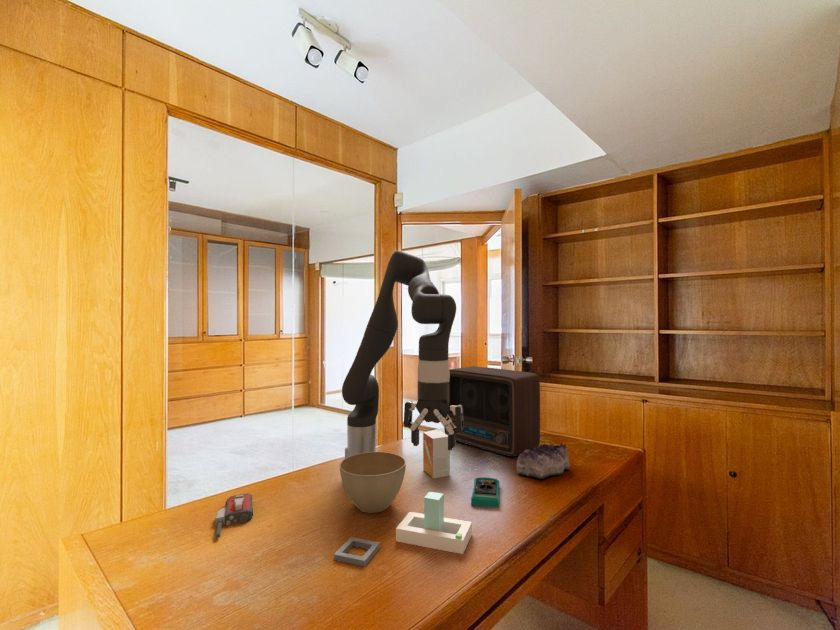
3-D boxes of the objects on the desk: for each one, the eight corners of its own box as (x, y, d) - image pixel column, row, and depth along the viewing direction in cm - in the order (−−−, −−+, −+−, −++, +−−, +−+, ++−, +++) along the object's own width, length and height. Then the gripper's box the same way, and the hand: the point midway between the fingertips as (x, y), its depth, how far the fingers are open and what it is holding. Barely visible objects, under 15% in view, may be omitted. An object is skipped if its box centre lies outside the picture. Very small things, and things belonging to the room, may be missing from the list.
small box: (422, 470, 143) (422, 431, 143) (439, 467, 145) (439, 429, 145) (432, 478, 135) (432, 438, 135) (450, 475, 138) (450, 436, 138)
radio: (441, 440, 177) (440, 368, 177) (468, 432, 189) (468, 365, 189) (513, 462, 150) (513, 378, 150) (540, 451, 162) (540, 373, 162)
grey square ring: (334, 559, 91) (334, 554, 91) (351, 542, 98) (351, 537, 98) (364, 566, 88) (364, 560, 88) (379, 548, 95) (379, 542, 95)
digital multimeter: (499, 487, 130) (499, 477, 130) (499, 509, 115) (498, 498, 115) (474, 485, 131) (474, 475, 131) (470, 507, 116) (470, 496, 116)
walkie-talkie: (218, 507, 117) (212, 543, 99) (218, 491, 117) (212, 524, 99) (252, 501, 120) (252, 535, 102) (252, 486, 120) (252, 517, 102)
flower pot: (333, 499, 121) (333, 456, 121) (393, 488, 128) (392, 448, 128) (348, 528, 104) (348, 479, 104) (416, 514, 111) (415, 468, 111)
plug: (424, 540, 99) (424, 497, 98) (429, 532, 102) (429, 491, 102) (439, 543, 97) (438, 500, 97) (443, 535, 101) (443, 493, 101)
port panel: (396, 541, 98) (395, 525, 98) (409, 523, 106) (409, 509, 106) (462, 554, 93) (462, 537, 93) (471, 534, 101) (471, 519, 101)
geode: (549, 460, 152) (552, 434, 151) (576, 475, 142) (580, 446, 141) (508, 470, 141) (512, 441, 140) (535, 486, 131) (539, 455, 130)
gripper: (399, 379, 98) (399, 448, 98) (458, 383, 93) (458, 456, 93) (411, 375, 105) (411, 439, 105) (466, 378, 100) (466, 446, 100)
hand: (433, 447), depth 99 cm, fingers open, 8 cm apart
